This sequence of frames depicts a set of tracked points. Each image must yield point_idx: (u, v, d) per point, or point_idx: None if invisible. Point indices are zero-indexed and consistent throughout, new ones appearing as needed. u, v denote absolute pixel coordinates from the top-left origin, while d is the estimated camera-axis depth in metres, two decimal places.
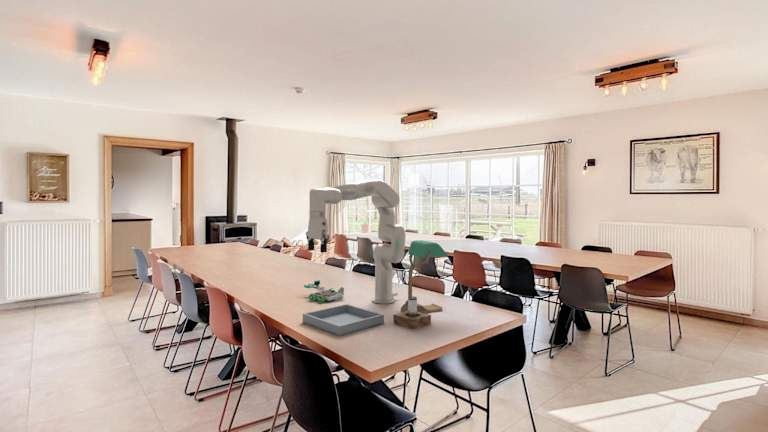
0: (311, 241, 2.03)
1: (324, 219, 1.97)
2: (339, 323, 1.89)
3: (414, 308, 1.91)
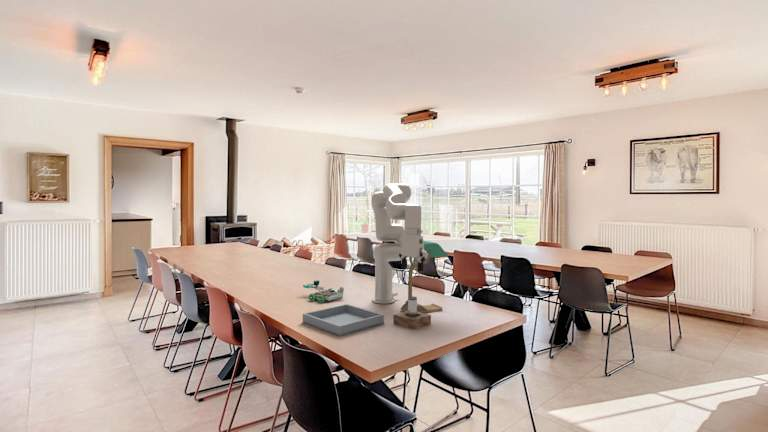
0: (404, 259, 1.95)
1: (421, 236, 1.88)
2: (339, 323, 1.89)
3: (414, 308, 1.91)
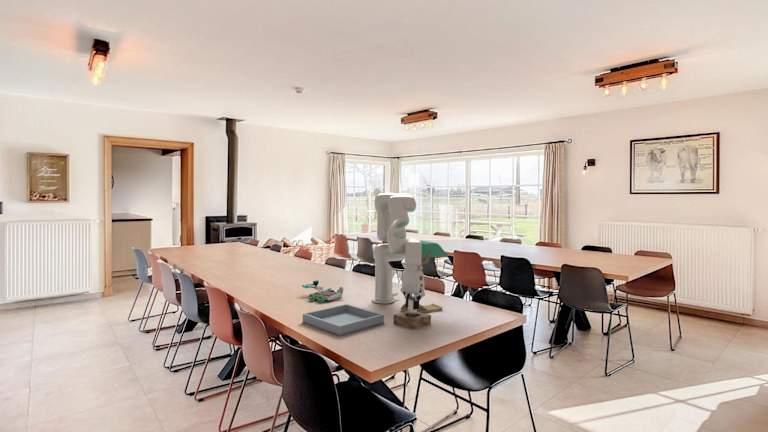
0: None
1: (421, 273, 1.89)
2: (339, 323, 1.89)
3: None
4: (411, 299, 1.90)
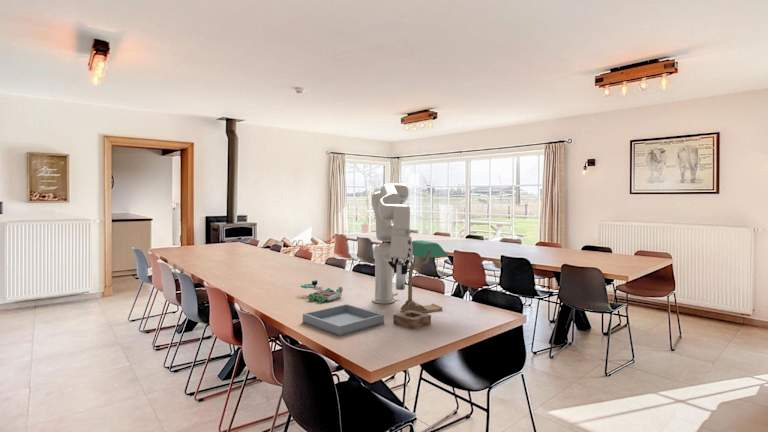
0: None
1: (409, 237, 1.88)
2: (339, 323, 1.89)
3: None
4: (399, 264, 1.90)
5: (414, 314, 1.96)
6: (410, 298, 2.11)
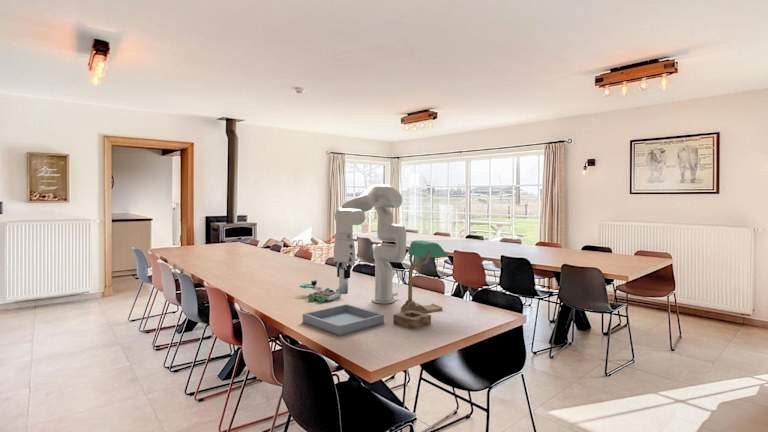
0: None
1: (351, 241, 1.88)
2: (339, 323, 1.89)
3: None
4: (341, 268, 1.89)
5: (414, 314, 1.96)
6: (410, 298, 2.11)
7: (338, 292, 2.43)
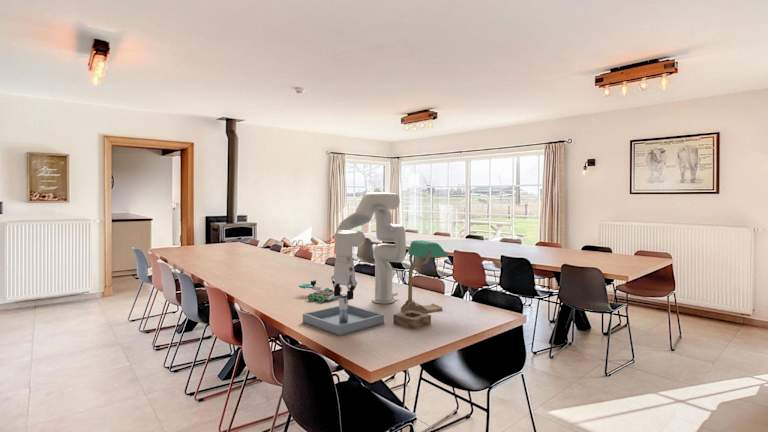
0: (337, 286, 1.95)
1: (351, 264, 1.89)
2: (339, 323, 1.89)
3: (344, 306, 1.90)
4: (341, 297, 1.90)
5: (414, 314, 1.96)
6: (410, 298, 2.11)
7: None
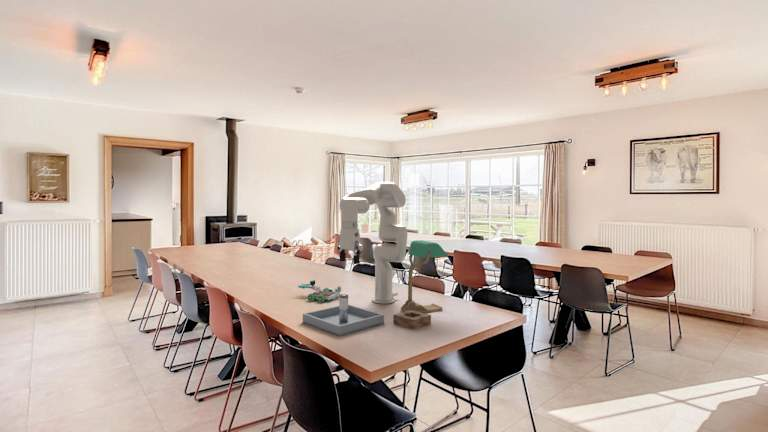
0: (342, 252, 1.99)
1: (356, 230, 1.92)
2: (339, 323, 1.89)
3: (345, 306, 1.90)
4: (341, 297, 1.90)
5: (414, 314, 1.96)
6: (410, 298, 2.11)
7: (337, 292, 2.44)
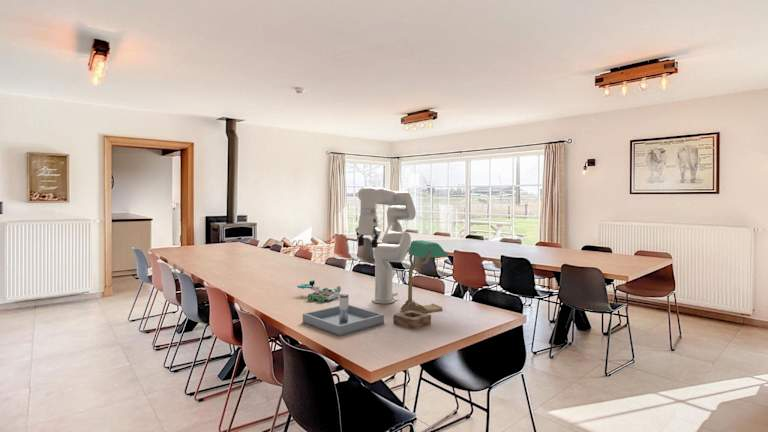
0: (361, 237, 2.15)
1: (375, 216, 2.09)
2: (339, 323, 1.89)
3: (345, 306, 1.90)
4: (342, 297, 1.90)
5: (414, 314, 1.96)
6: (410, 298, 2.11)
7: (336, 292, 2.44)
